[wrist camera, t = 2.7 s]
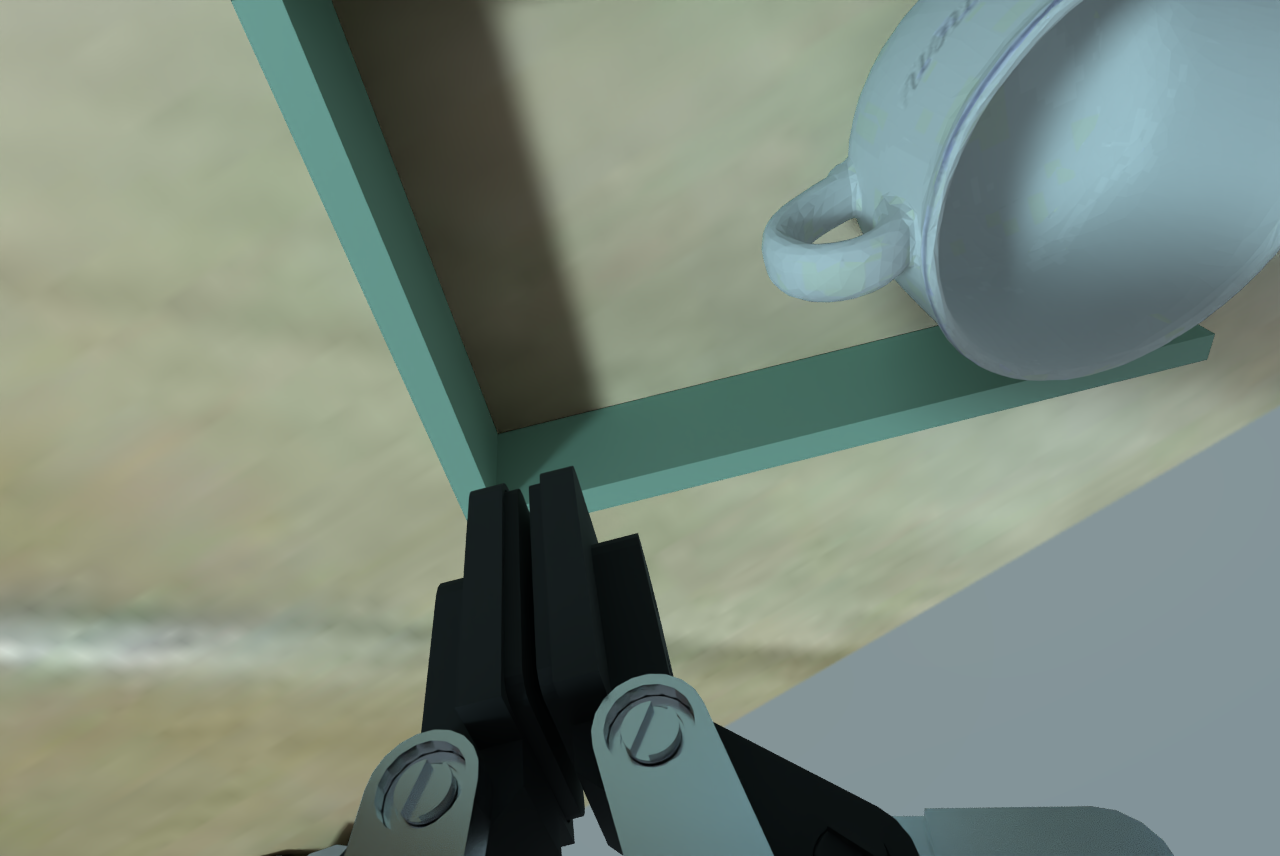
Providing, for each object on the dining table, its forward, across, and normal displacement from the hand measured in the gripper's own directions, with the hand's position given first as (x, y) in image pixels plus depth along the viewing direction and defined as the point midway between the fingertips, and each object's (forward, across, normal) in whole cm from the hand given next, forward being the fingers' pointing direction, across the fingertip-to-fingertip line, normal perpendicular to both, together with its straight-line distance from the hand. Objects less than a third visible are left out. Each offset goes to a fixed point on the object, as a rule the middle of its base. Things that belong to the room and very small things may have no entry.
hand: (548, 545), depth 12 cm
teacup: (+14, -13, -1) cm, 20 cm away
